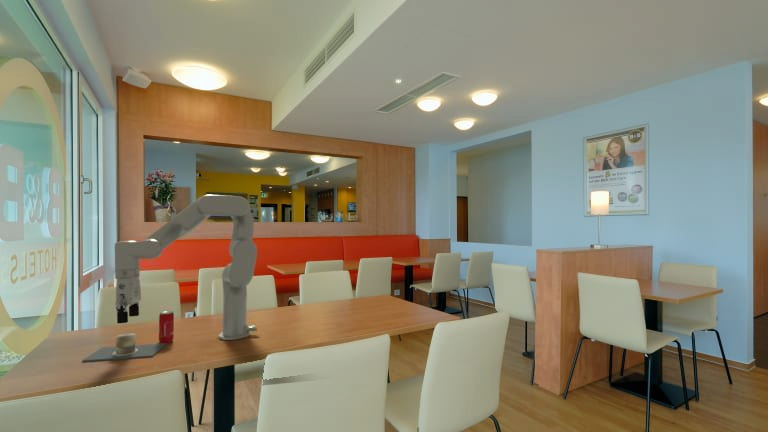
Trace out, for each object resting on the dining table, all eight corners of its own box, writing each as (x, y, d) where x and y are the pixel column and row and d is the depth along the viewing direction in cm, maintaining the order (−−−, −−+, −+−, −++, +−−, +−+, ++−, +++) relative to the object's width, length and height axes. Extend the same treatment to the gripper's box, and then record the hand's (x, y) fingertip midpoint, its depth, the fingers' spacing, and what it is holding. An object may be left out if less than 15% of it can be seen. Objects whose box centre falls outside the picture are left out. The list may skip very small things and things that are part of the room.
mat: (165, 344, 147) (165, 342, 147) (152, 356, 134) (152, 354, 134) (102, 348, 142) (102, 347, 142) (81, 362, 128) (82, 360, 128)
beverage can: (166, 344, 148) (167, 314, 148) (155, 343, 149) (156, 313, 149) (176, 340, 153) (176, 311, 153) (165, 339, 154) (166, 310, 154)
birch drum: (137, 348, 141) (138, 332, 141) (131, 353, 135) (131, 337, 135) (119, 349, 139) (120, 333, 139) (112, 355, 133) (113, 338, 133)
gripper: (128, 276, 130) (130, 324, 130) (147, 270, 147) (148, 312, 147) (104, 277, 128) (105, 326, 128) (126, 271, 145) (127, 314, 145)
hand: (128, 319), depth 138 cm, fingers open, 9 cm apart
